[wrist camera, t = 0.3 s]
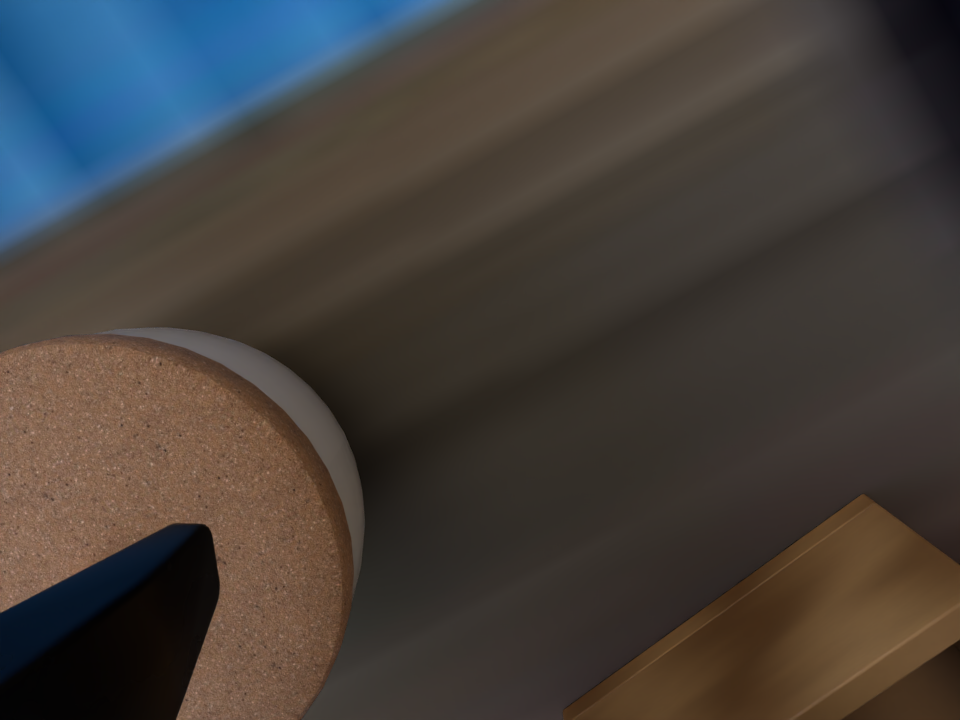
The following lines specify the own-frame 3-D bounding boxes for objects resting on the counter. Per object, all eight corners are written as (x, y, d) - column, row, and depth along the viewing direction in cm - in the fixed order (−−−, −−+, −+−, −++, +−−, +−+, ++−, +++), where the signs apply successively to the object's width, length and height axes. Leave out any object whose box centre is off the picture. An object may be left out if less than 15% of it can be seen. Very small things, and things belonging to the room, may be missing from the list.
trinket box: (-4, 389, 24) (-320, 494, 15) (297, 242, 23) (160, 254, 14) (163, 674, 26) (-27, 928, 16) (451, 548, 24) (422, 744, 15)
